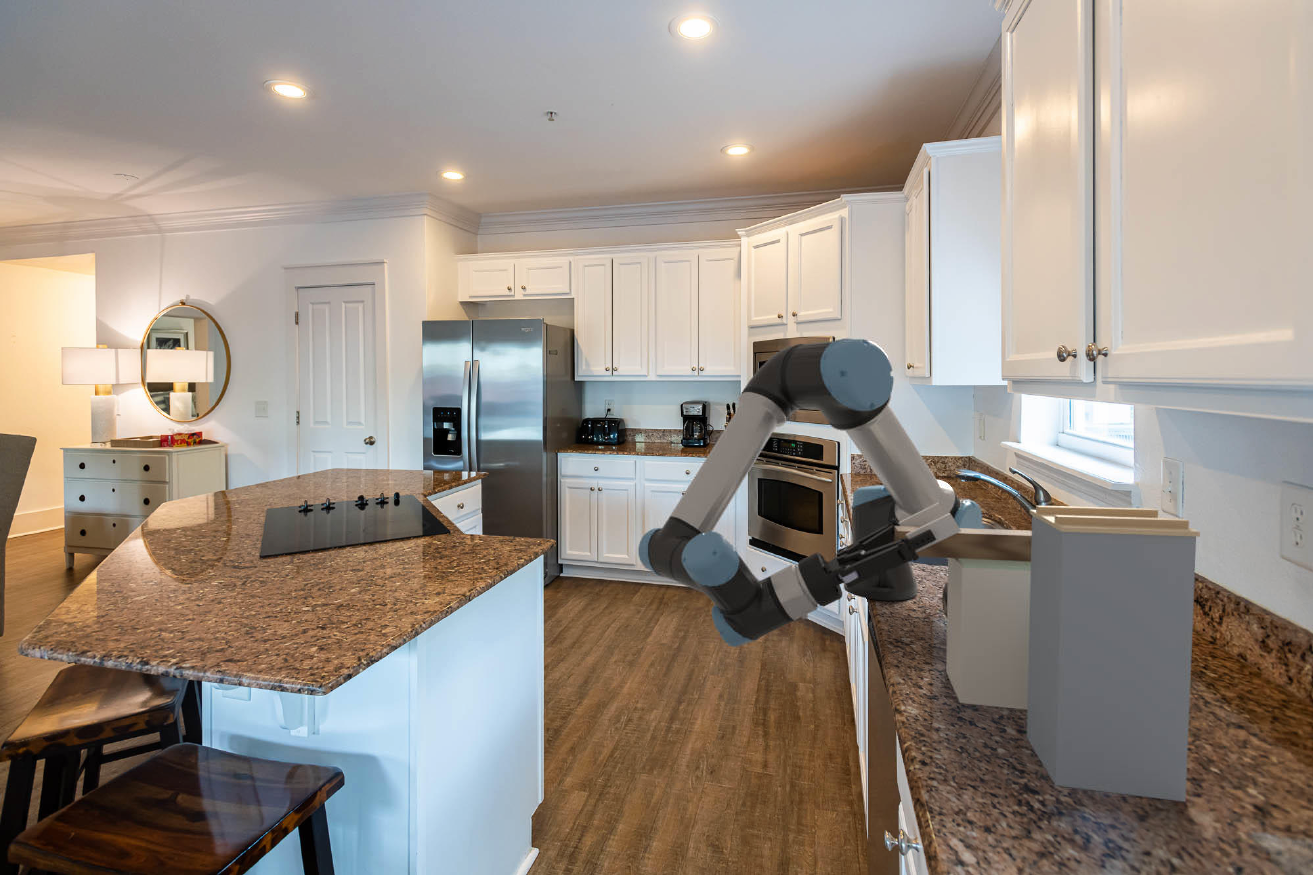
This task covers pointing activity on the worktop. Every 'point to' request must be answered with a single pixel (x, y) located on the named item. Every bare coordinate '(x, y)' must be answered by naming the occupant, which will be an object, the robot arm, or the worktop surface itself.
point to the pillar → (1111, 648)
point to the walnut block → (977, 544)
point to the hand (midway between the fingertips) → (948, 516)
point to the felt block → (989, 631)
